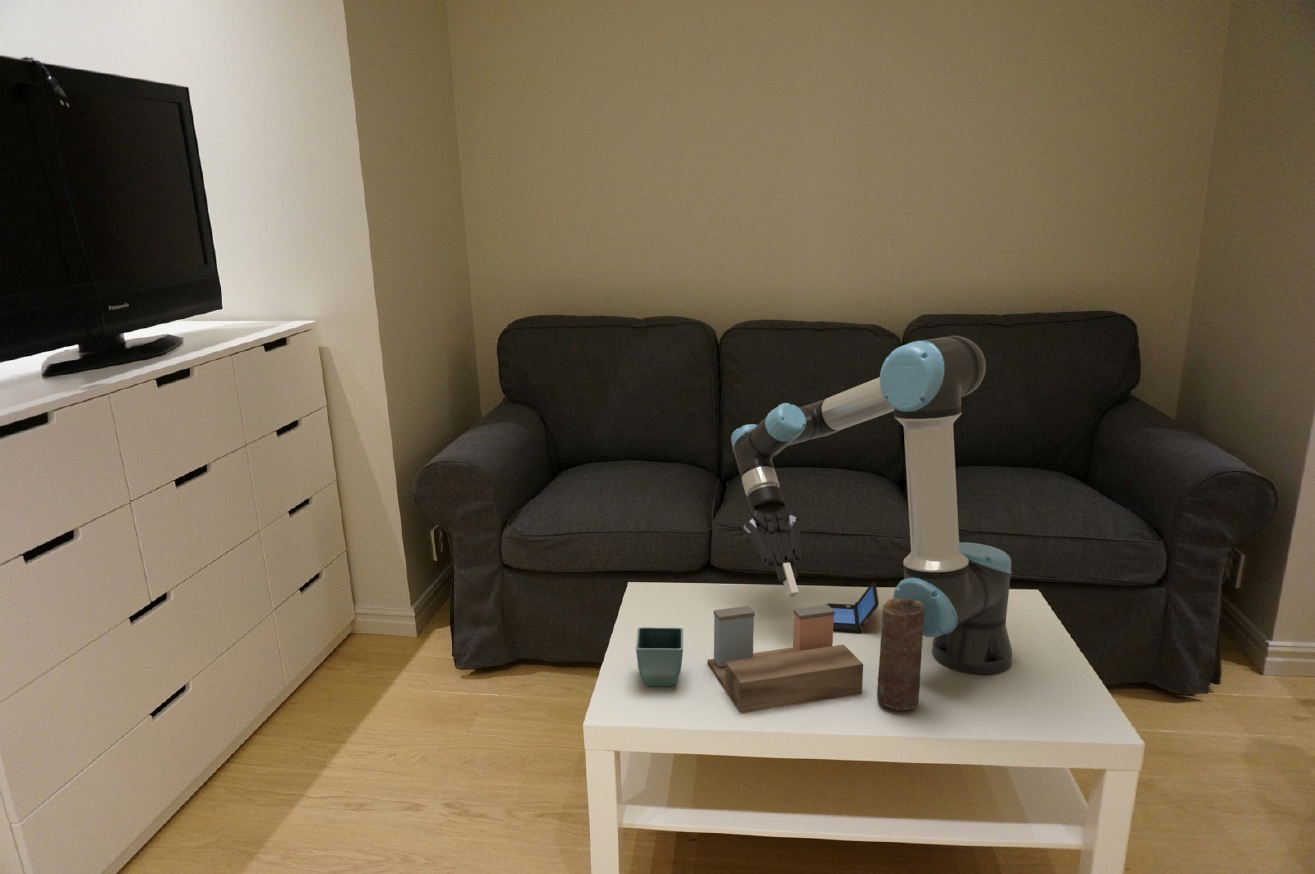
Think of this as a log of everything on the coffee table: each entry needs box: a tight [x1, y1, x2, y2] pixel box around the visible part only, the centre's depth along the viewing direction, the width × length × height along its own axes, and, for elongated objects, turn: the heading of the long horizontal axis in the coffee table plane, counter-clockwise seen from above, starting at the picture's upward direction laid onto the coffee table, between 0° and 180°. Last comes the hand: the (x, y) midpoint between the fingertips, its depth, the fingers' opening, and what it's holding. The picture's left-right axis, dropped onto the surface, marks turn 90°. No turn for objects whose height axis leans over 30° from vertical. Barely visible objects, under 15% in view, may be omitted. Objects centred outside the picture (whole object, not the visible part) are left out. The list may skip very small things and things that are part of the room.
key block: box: [707, 644, 864, 714], centre depth 175 cm, size 18×24×6 cm
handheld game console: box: [825, 580, 880, 635], centre depth 199 cm, size 12×11×7 cm
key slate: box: [713, 605, 755, 667], centre depth 179 cm, size 3×7×11 cm, turn 105°
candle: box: [876, 598, 925, 711], centre depth 164 cm, size 8×7×20 cm
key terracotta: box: [792, 604, 835, 652], centre depth 179 cm, size 3×7×11 cm, turn 105°
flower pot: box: [635, 626, 684, 687], centre depth 175 cm, size 9×9×9 cm
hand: (793, 594), depth 186 cm, fingers closed
